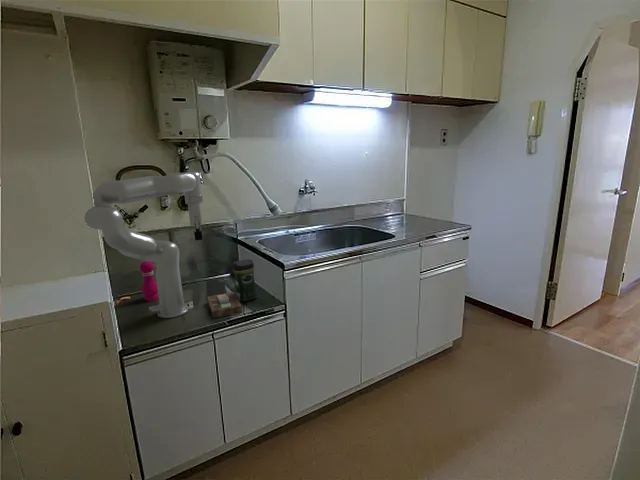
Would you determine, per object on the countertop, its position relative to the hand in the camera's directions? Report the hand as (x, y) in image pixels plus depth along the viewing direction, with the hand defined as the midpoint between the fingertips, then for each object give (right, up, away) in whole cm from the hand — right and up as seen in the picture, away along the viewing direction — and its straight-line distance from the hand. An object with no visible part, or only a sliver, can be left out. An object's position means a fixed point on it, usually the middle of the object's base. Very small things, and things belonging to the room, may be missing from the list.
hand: (198, 239), depth 171 cm
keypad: (+14, -30, -7) cm, 34 cm away
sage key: (+16, -31, -12) cm, 37 cm away
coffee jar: (+22, -28, +2) cm, 35 cm away
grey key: (+14, -28, -7) cm, 32 cm away
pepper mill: (-25, -28, +7) cm, 38 cm away
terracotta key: (+12, -28, -2) cm, 31 cm away
